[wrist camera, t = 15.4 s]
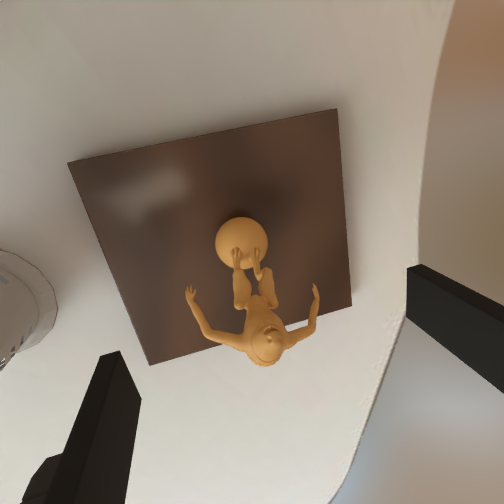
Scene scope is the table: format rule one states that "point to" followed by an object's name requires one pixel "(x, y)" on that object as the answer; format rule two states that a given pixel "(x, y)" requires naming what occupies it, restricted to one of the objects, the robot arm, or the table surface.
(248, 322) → the figurine
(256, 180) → the walnut board
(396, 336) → the table surface
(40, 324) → the french press
